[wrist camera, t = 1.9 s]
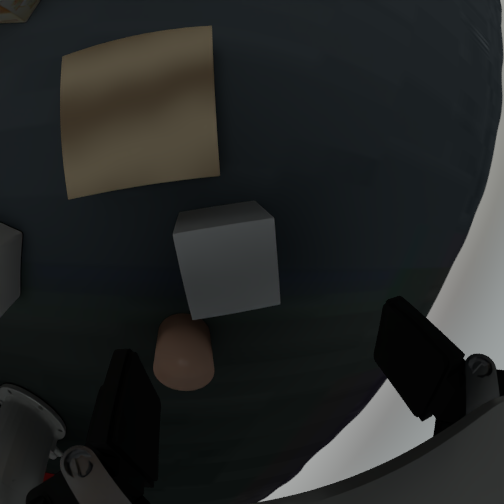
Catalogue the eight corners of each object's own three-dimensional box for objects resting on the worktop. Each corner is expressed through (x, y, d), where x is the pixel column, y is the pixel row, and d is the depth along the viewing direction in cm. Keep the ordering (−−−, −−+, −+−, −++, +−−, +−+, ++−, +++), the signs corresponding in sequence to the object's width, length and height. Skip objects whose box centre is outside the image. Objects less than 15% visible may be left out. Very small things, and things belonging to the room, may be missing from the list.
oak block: (215, 170, 21) (220, 175, 16) (94, 188, 19) (68, 199, 15) (208, 51, 17) (211, 25, 12) (87, 72, 16) (62, 56, 11)
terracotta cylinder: (214, 350, 26) (219, 386, 22) (166, 357, 26) (163, 393, 21) (204, 309, 24) (207, 344, 20) (151, 317, 24) (144, 352, 19)
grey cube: (261, 268, 24) (280, 304, 19) (192, 280, 23) (192, 320, 18) (254, 200, 22) (274, 217, 16) (179, 212, 21) (172, 234, 16)
